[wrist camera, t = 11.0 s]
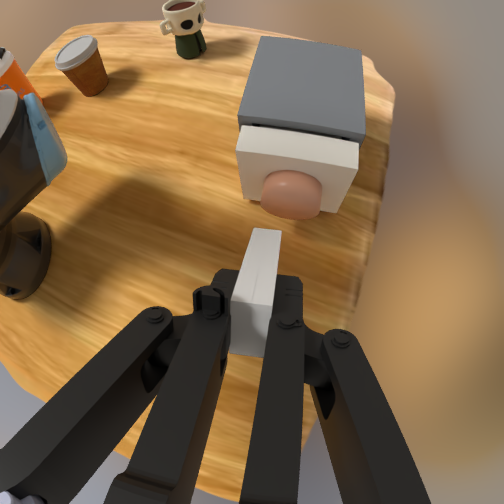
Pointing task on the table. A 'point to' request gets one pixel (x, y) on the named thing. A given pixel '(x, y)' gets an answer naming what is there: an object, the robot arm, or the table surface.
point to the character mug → (185, 25)
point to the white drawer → (295, 169)
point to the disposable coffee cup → (83, 65)
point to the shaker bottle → (14, 76)
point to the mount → (306, 88)
